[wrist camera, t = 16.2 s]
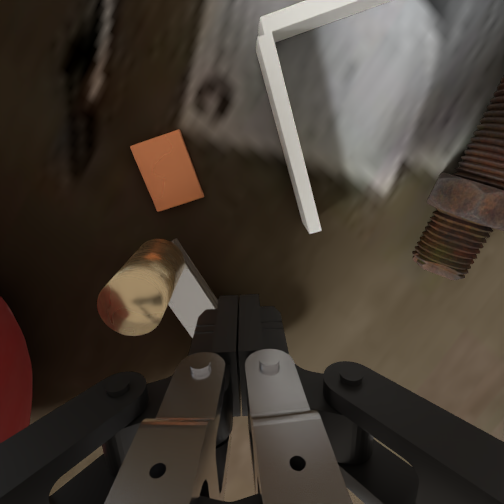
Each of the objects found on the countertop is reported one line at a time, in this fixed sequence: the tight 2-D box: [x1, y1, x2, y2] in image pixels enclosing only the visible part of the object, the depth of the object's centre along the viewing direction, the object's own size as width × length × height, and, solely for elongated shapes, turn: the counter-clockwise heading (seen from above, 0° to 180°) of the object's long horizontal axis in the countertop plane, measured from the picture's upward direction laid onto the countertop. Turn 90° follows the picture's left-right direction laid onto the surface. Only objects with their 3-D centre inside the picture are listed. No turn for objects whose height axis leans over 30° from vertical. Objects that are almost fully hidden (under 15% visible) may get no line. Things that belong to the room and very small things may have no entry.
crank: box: [97, 238, 218, 338], centre depth 17 cm, size 11×4×6 cm, turn 28°
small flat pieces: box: [130, 129, 240, 307], centre depth 21 cm, size 16×5×2 cm, turn 18°
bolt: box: [412, 77, 504, 280], centre depth 17 cm, size 6×5×15 cm
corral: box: [256, 0, 393, 234], centre depth 17 cm, size 11×20×2 cm, turn 108°
